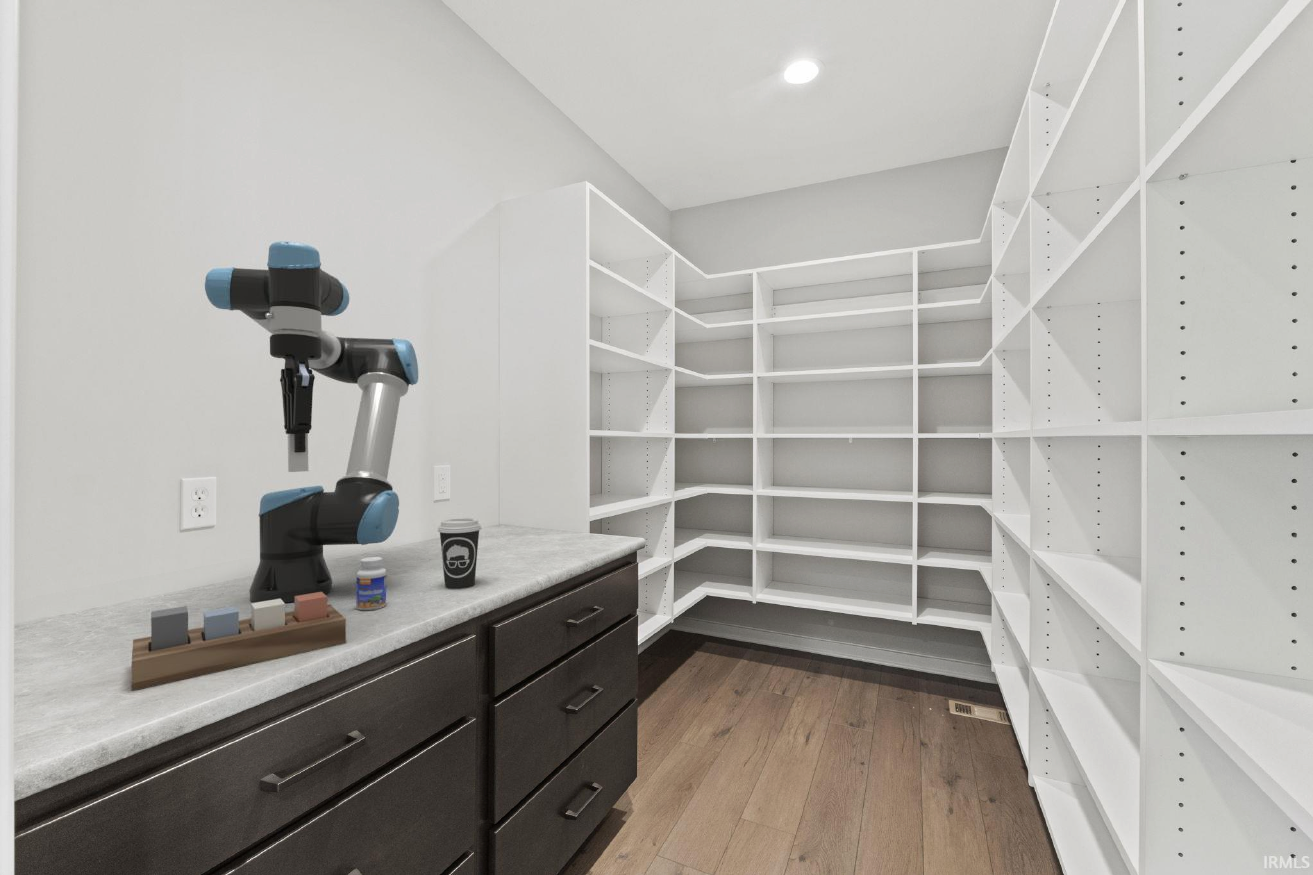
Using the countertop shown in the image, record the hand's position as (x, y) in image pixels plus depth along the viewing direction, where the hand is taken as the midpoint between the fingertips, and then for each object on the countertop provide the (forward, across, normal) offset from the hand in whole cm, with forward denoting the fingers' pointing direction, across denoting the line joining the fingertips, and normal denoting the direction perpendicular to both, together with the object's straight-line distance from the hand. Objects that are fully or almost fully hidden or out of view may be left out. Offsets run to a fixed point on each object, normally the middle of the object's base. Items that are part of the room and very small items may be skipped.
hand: (298, 471), depth 97 cm
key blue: (+26, +5, -12) cm, 29 cm away
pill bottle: (+29, -7, +14) cm, 33 cm away
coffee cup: (+30, -10, +34) cm, 46 cm away
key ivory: (+26, +5, -6) cm, 27 cm away
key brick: (+26, +6, 0) cm, 26 cm away
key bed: (+28, +5, -9) cm, 30 cm away
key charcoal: (+24, +5, -18) cm, 30 cm away
